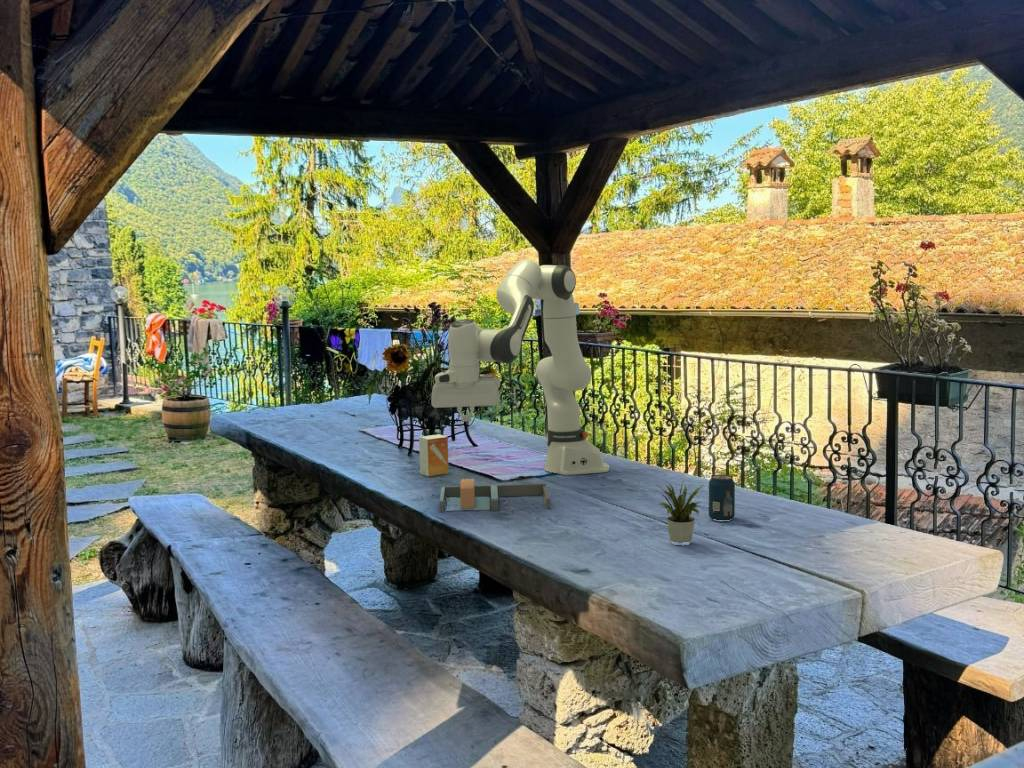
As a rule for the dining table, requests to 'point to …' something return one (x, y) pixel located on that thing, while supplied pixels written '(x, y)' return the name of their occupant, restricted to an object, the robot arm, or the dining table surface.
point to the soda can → (721, 497)
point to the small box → (433, 455)
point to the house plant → (680, 515)
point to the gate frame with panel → (494, 494)
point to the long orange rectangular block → (467, 493)
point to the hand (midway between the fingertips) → (466, 421)
